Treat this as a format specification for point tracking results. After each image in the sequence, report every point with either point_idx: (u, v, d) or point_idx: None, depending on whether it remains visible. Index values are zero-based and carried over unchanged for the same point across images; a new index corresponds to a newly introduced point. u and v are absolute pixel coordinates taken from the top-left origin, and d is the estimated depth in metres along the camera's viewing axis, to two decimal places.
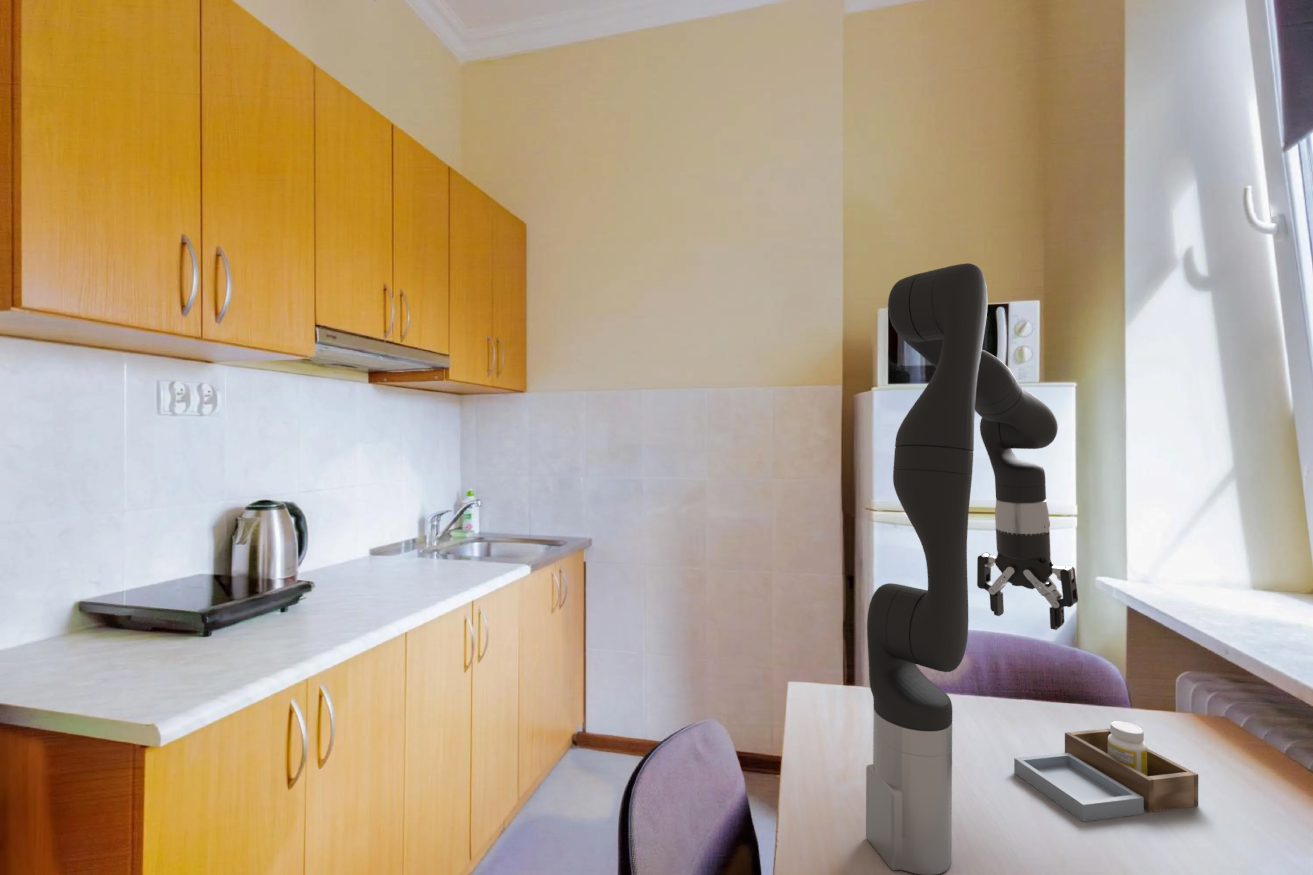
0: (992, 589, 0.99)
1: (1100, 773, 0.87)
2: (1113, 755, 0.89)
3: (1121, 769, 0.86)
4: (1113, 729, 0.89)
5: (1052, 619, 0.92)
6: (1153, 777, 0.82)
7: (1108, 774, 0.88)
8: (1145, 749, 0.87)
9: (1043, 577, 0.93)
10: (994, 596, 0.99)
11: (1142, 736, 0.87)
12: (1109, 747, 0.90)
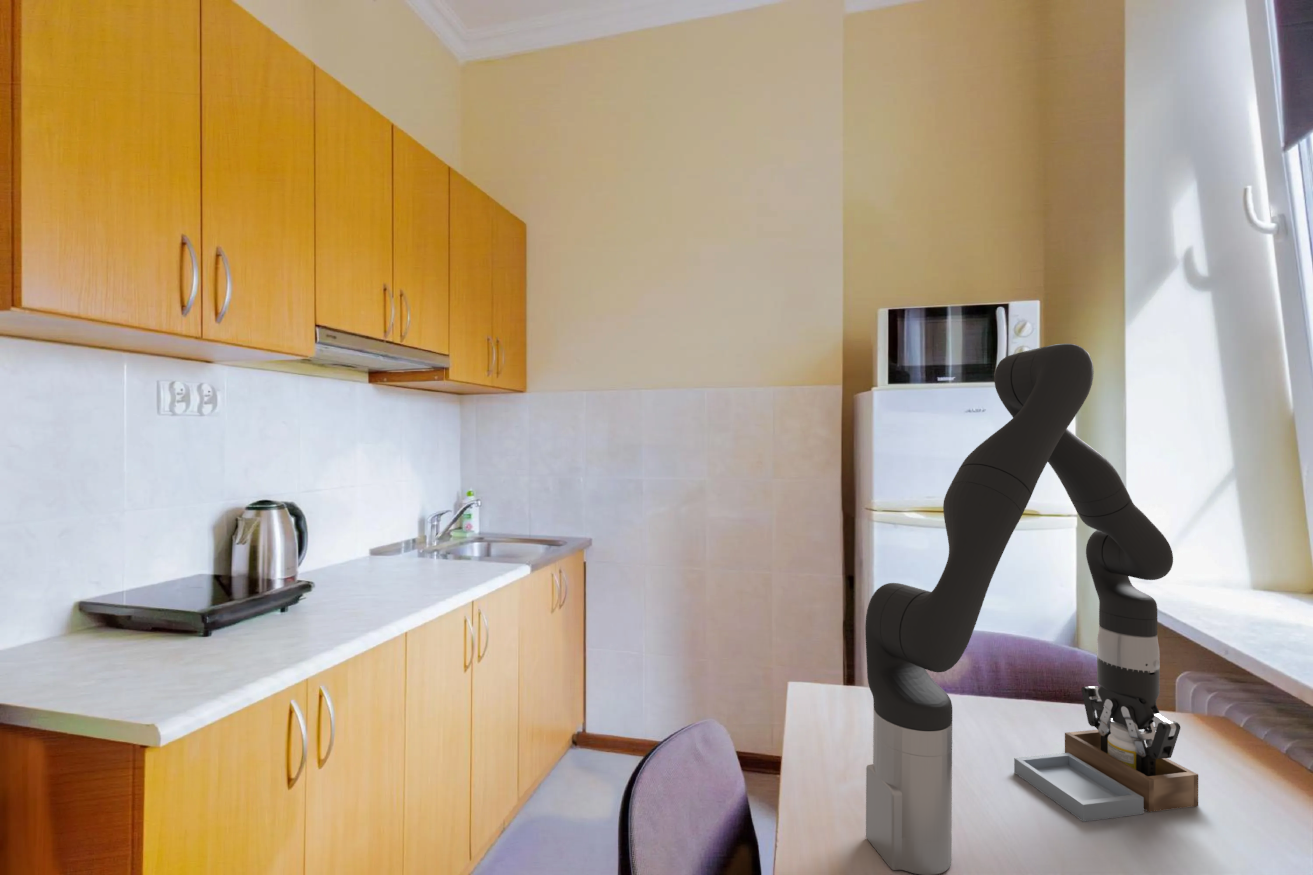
0: (1102, 729, 0.92)
1: (1100, 773, 0.87)
2: (1113, 755, 0.89)
3: (1121, 769, 0.86)
4: (1113, 729, 0.89)
5: (1138, 768, 0.86)
6: (1153, 777, 0.82)
7: (1108, 774, 0.88)
8: None
9: (1141, 722, 0.86)
10: (1104, 738, 0.92)
11: None
12: (1109, 746, 0.90)
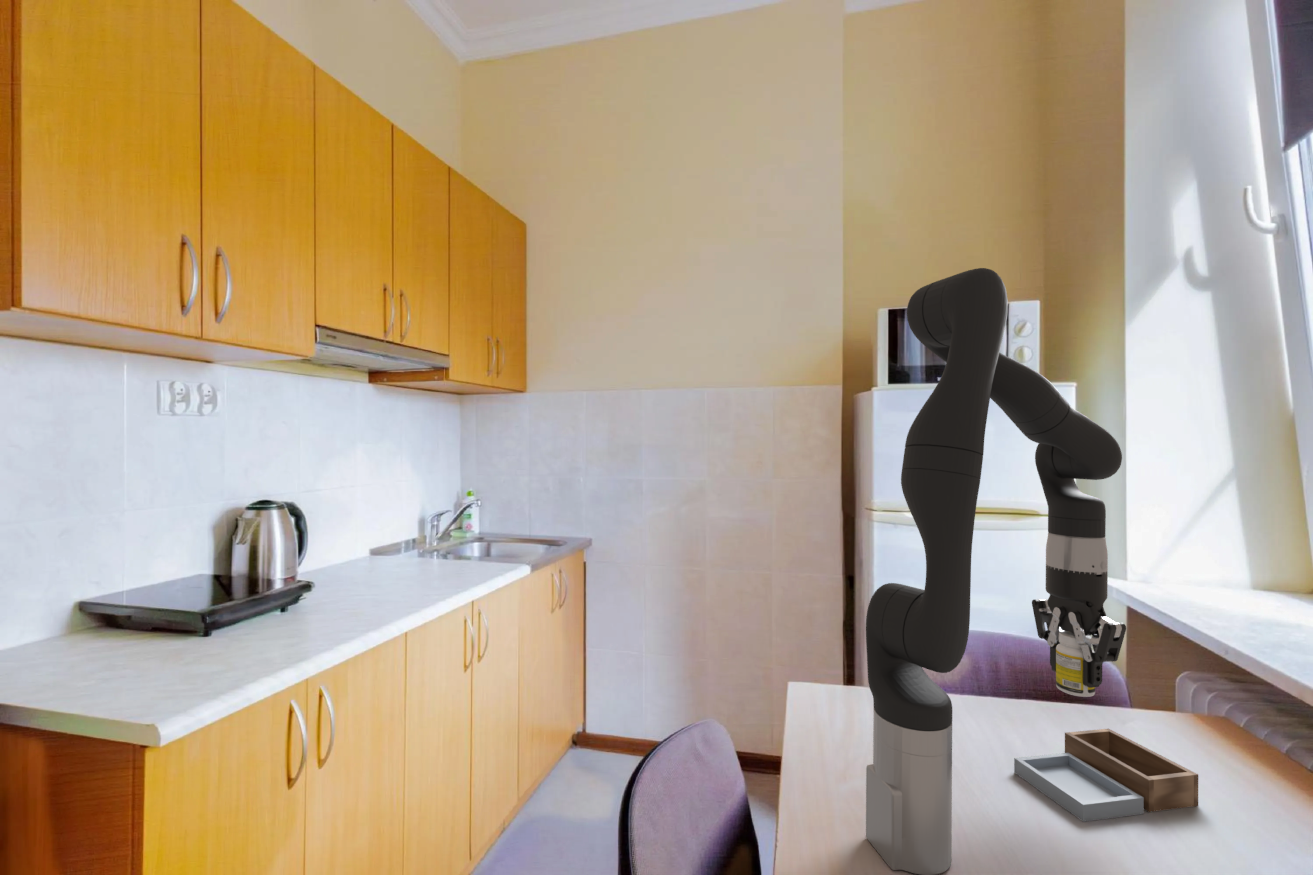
0: (1051, 640, 0.89)
1: (1100, 773, 0.87)
2: (1060, 663, 0.86)
3: (1121, 769, 0.86)
4: (1061, 637, 0.87)
5: (1085, 674, 0.84)
6: (1153, 777, 0.82)
7: (1108, 774, 0.88)
8: None
9: (1087, 627, 0.83)
10: (1053, 649, 0.89)
11: None
12: (1057, 655, 0.87)
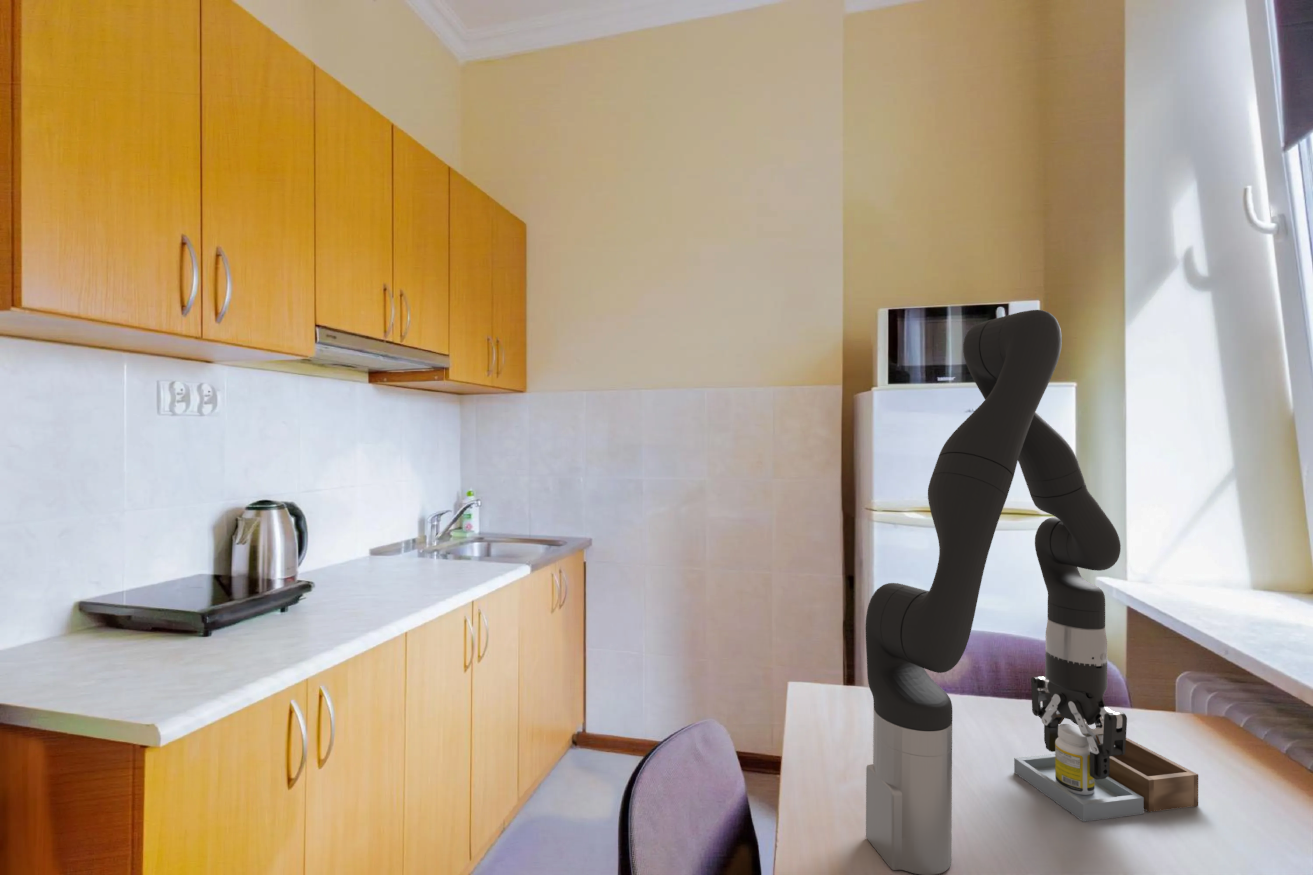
0: (1045, 719, 0.90)
1: None
2: (1060, 759, 0.86)
3: (1121, 769, 0.86)
4: (1060, 732, 0.87)
5: (1092, 765, 0.82)
6: (1153, 777, 0.82)
7: None
8: None
9: (1088, 716, 0.83)
10: (1047, 727, 0.90)
11: None
12: (1056, 750, 0.87)
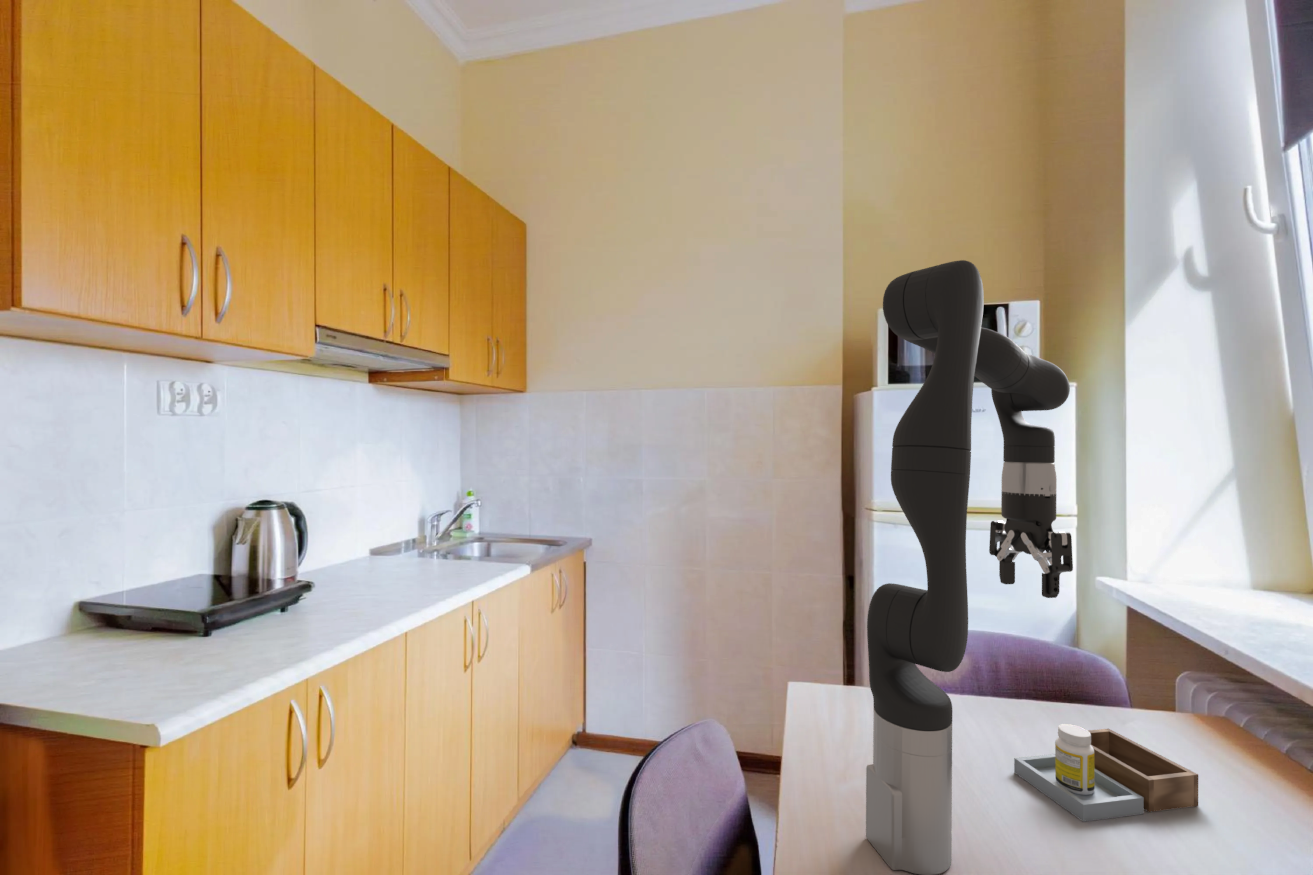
0: (1000, 555, 0.98)
1: (1100, 773, 0.87)
2: (1060, 759, 0.86)
3: (1121, 769, 0.86)
4: (1060, 732, 0.86)
5: (1043, 585, 0.89)
6: (1153, 777, 0.82)
7: (1108, 774, 0.88)
8: (1092, 753, 0.84)
9: (1038, 541, 0.90)
10: (1001, 563, 0.98)
11: (1089, 740, 0.85)
12: (1056, 750, 0.87)
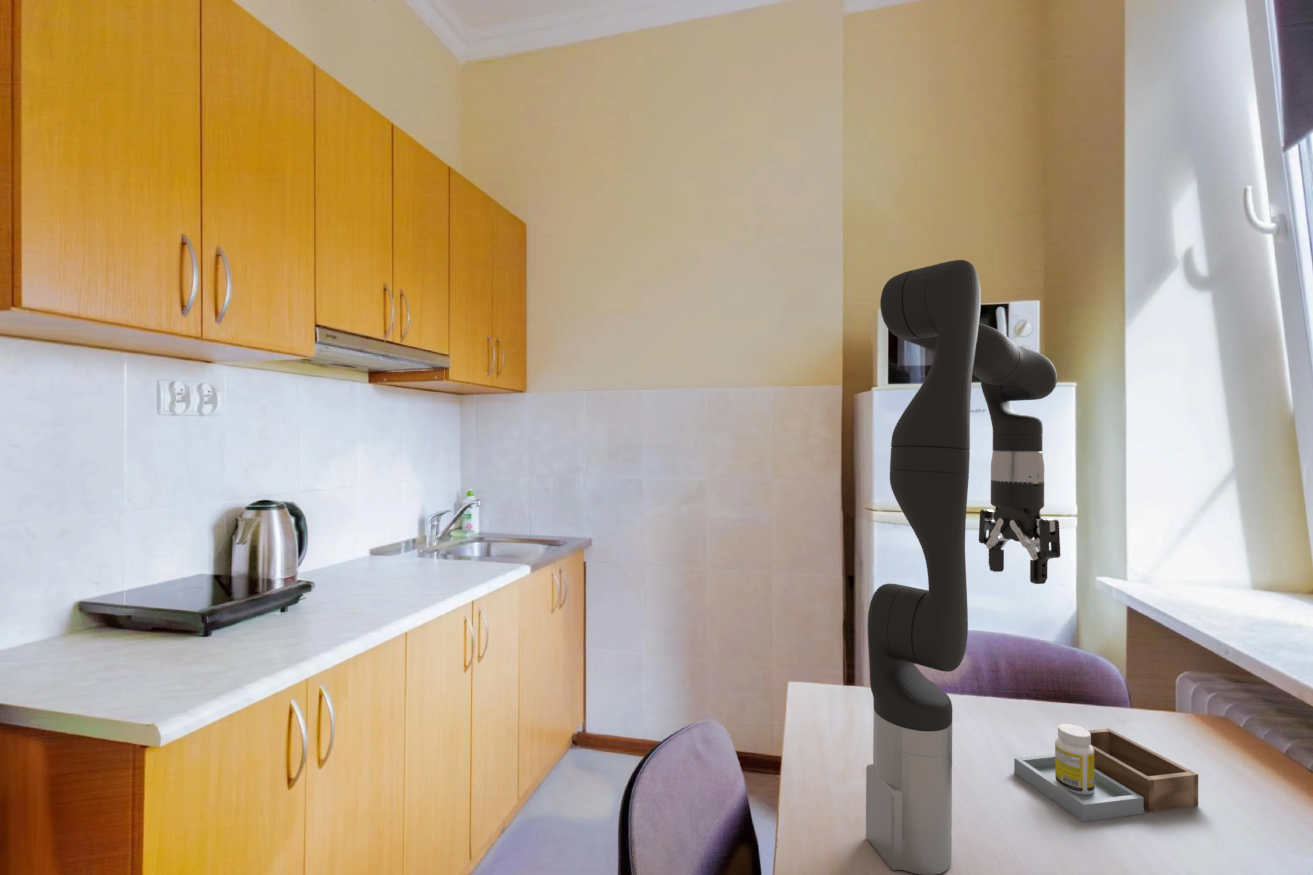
0: (989, 543, 0.99)
1: (1100, 773, 0.87)
2: (1060, 759, 0.86)
3: (1121, 769, 0.86)
4: (1060, 732, 0.87)
5: (1032, 572, 0.91)
6: (1153, 777, 0.82)
7: (1108, 774, 0.88)
8: (1092, 753, 0.84)
9: (1027, 528, 0.92)
10: (990, 550, 0.99)
11: (1089, 739, 0.85)
12: (1056, 750, 0.87)
